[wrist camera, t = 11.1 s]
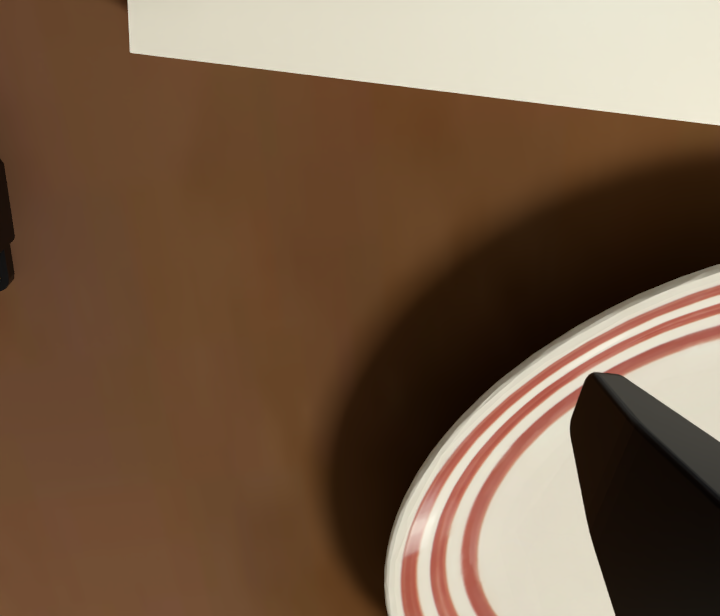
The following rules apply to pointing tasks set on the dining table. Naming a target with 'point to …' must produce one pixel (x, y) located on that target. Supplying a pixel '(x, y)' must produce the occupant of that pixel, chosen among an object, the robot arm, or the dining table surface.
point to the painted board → (464, 46)
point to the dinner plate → (544, 464)
